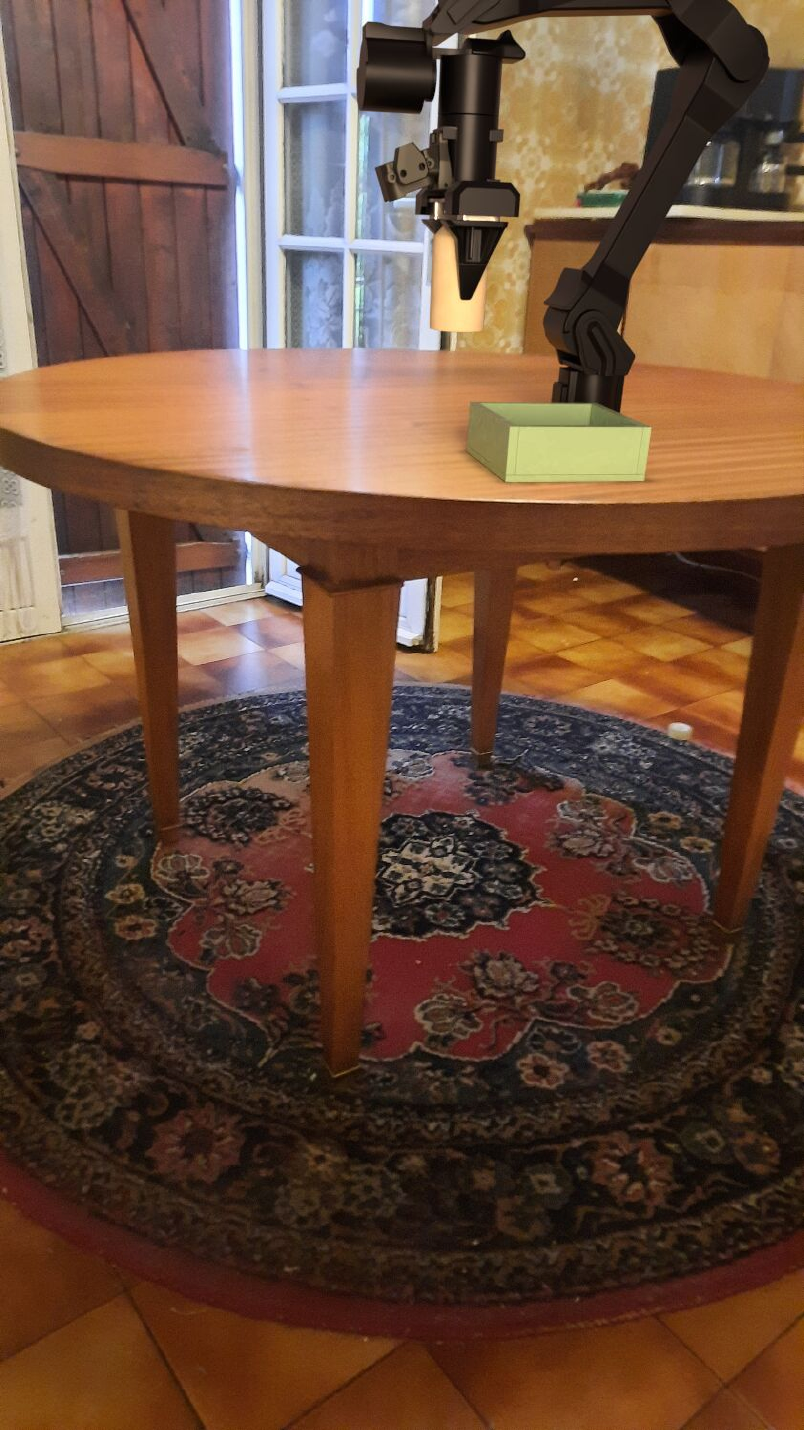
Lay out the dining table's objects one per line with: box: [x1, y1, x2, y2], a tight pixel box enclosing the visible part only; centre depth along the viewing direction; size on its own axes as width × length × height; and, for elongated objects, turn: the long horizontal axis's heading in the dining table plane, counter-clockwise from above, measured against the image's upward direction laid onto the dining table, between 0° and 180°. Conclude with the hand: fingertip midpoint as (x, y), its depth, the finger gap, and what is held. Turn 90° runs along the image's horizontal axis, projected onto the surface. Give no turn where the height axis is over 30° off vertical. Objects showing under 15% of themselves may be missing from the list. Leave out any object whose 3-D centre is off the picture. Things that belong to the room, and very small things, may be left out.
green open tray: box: [466, 401, 653, 483], centre depth 92 cm, size 13×13×5 cm
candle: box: [429, 226, 489, 333], centre depth 101 cm, size 6×6×10 cm
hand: (458, 297), depth 102 cm, fingers closed on candle, 5 cm apart
